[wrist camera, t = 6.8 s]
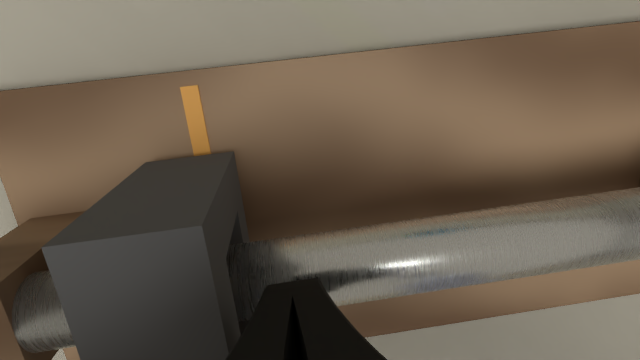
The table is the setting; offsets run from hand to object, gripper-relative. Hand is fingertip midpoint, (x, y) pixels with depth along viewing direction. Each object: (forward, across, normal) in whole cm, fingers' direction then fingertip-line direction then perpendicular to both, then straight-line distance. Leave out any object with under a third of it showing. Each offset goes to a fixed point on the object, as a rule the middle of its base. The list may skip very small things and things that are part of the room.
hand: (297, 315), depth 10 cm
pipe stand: (+7, -4, 0) cm, 8 cm away
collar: (+5, +3, 0) cm, 6 cm away
